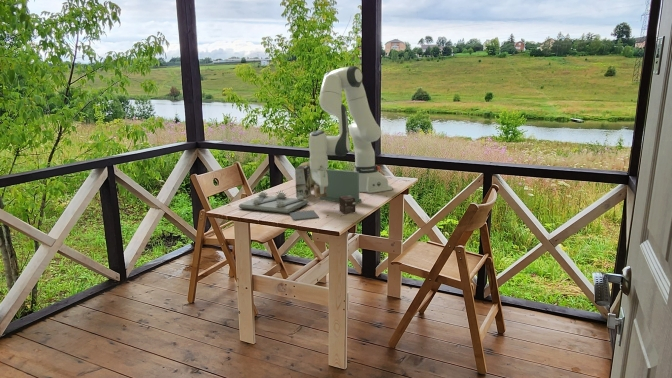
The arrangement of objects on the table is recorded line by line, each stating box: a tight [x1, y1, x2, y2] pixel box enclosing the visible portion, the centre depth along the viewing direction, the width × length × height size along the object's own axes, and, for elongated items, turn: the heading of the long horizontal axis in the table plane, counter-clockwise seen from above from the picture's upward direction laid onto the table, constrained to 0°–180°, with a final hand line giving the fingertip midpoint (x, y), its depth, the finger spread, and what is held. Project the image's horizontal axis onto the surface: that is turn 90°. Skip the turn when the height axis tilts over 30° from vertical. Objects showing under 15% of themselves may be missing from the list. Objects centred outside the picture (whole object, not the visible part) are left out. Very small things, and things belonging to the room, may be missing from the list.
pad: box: [288, 210, 320, 221], centre depth 229 cm, size 12×12×1 cm
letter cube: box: [313, 184, 327, 198], centre depth 238 cm, size 5×5×5 cm
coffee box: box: [294, 165, 312, 198], centre depth 267 cm, size 9×6×16 cm
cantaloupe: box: [299, 161, 316, 187], centre depth 291 cm, size 15×15×15 cm
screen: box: [319, 168, 362, 205], centre depth 254 cm, size 22×6×16 cm, turn 60°
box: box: [338, 196, 356, 215], centre depth 233 cm, size 6×6×7 cm
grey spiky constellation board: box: [238, 190, 310, 214], centre depth 246 cm, size 30×22×7 cm
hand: (320, 192), depth 238 cm, fingers closed on letter cube, 5 cm apart
